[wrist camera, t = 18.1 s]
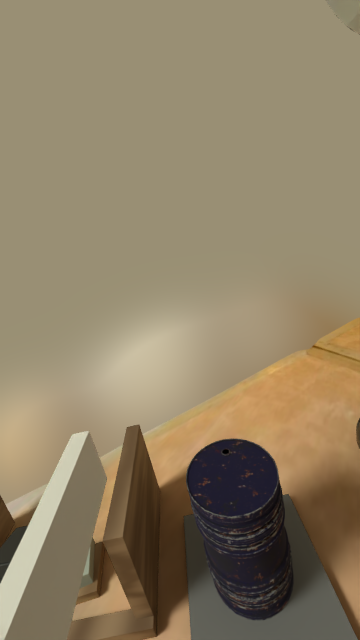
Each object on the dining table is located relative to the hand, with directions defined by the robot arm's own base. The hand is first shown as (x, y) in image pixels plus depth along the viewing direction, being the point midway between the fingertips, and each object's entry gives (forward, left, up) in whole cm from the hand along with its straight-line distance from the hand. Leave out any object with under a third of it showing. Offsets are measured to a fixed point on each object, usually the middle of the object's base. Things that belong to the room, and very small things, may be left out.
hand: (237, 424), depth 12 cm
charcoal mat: (0, -13, -32) cm, 34 cm away
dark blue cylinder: (0, -13, -31) cm, 34 cm away
